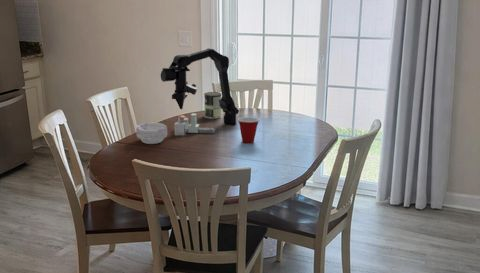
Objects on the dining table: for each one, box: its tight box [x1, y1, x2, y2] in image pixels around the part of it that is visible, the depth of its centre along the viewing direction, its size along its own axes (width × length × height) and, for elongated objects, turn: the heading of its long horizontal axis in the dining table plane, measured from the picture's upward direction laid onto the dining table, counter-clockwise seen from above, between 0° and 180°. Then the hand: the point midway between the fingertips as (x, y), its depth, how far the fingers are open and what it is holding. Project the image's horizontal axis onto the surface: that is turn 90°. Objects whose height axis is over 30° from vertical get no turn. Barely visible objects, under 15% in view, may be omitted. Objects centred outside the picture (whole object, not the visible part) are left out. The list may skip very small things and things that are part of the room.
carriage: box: [188, 113, 200, 134], centre depth 262 cm, size 5×5×9 cm
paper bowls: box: [135, 122, 168, 145], centre depth 246 cm, size 15×15×8 cm
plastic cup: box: [237, 117, 260, 144], centre depth 247 cm, size 11×11×12 cm
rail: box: [186, 127, 215, 134], centre depth 263 cm, size 14×3×2 cm, turn 86°
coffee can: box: [203, 91, 222, 120], centre depth 295 cm, size 10×10×14 cm
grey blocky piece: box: [174, 117, 190, 136], centre depth 263 cm, size 5×14×6 cm, turn 176°
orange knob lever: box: [177, 114, 186, 122], centre depth 262 cm, size 4×4×5 cm
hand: (181, 109), depth 261 cm, fingers closed
